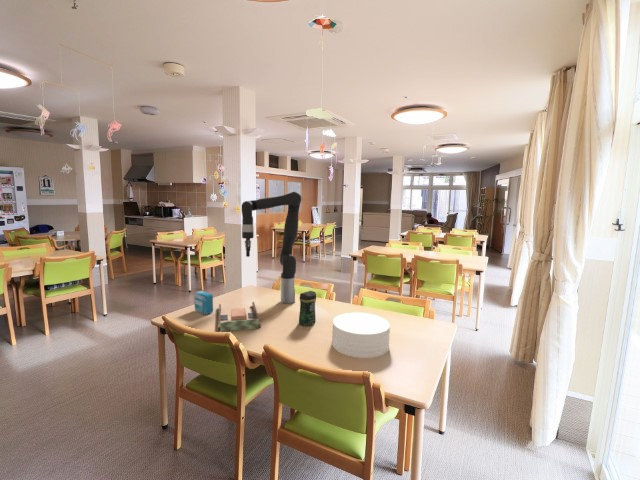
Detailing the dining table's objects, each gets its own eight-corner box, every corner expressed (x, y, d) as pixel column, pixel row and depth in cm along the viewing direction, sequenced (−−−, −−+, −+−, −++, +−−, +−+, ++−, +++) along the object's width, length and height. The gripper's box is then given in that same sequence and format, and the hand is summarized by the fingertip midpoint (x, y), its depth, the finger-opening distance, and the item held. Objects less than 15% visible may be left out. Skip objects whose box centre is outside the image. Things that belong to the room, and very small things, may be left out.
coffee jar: (306, 327, 181) (307, 295, 179) (296, 323, 186) (297, 292, 184) (318, 322, 189) (318, 291, 186) (307, 319, 194) (308, 288, 191)
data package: (194, 310, 203) (194, 292, 201) (200, 308, 207) (200, 290, 205) (207, 314, 196) (206, 295, 195) (213, 312, 200) (212, 293, 199)
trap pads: (254, 312, 201) (254, 312, 201) (255, 317, 194) (255, 317, 194) (220, 315, 196) (220, 315, 196) (220, 320, 188) (220, 319, 188)
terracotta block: (245, 319, 191) (245, 308, 190) (246, 327, 180) (246, 315, 179) (231, 320, 189) (230, 309, 188) (231, 328, 177) (231, 316, 176)
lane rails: (254, 305, 215) (253, 298, 214) (260, 328, 179) (260, 319, 178) (219, 307, 209) (219, 300, 208) (218, 331, 173) (218, 322, 172)
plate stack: (352, 328, 182) (353, 308, 181) (398, 343, 164) (399, 321, 163) (320, 345, 161) (321, 323, 159) (369, 364, 143) (371, 340, 141)
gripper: (254, 232, 213) (254, 258, 215) (252, 229, 226) (252, 254, 228) (242, 232, 211) (242, 258, 213) (241, 230, 223) (241, 254, 226)
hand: (247, 256), depth 221 cm, fingers closed
